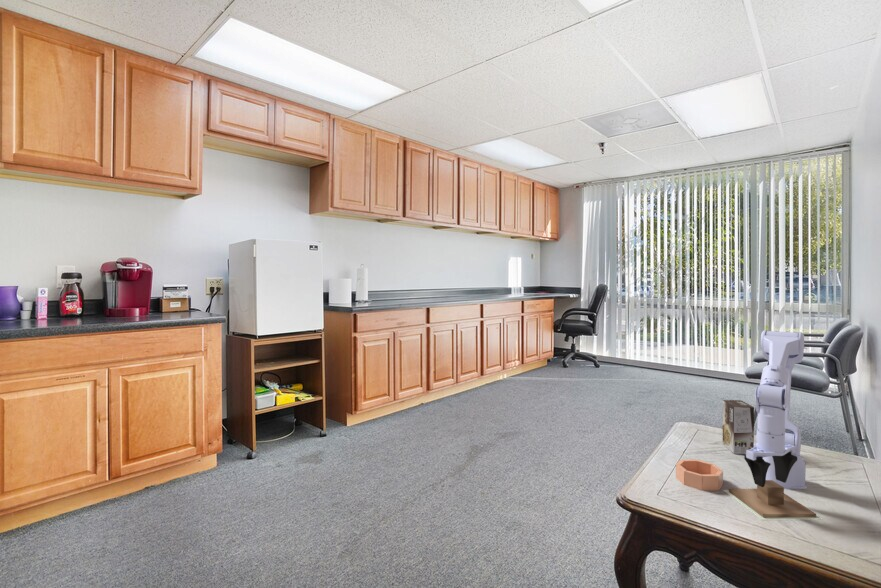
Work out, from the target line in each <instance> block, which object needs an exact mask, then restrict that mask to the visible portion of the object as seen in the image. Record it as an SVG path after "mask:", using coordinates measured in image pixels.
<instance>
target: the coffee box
mask: <svg viewBox="0 0 881 588" xmlns="http://www.w3.org/2000/svg"><path fill="white" fill-rule="evenodd" d="M754 436H755V407H754V406H752V405H751V404H749V403H747V402H746V401H744V400H739V399H729V400H728V399H722V445H723V446H724V447H725V448H726V449H727V450H729V451H730V452H731V453H732V454H735V455H736V454H737V455H746V450H750V449H751V448H753V447H755V446H754V443H755V441H754V440H755V437H754Z"/></svg>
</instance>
